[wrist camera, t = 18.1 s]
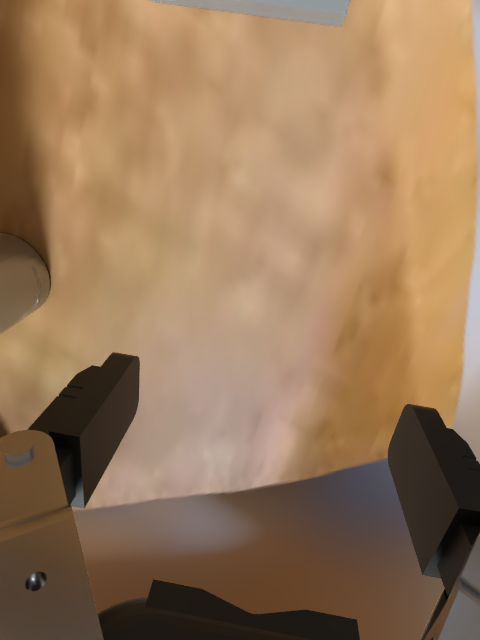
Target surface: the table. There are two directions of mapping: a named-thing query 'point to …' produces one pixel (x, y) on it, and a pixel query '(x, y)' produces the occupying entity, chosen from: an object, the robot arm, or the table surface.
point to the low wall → (277, 8)
